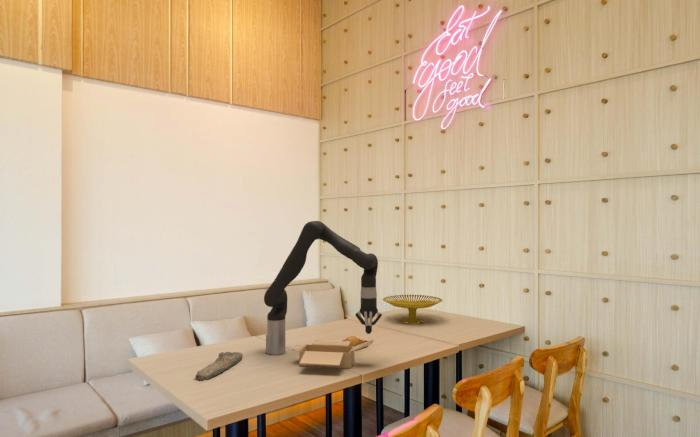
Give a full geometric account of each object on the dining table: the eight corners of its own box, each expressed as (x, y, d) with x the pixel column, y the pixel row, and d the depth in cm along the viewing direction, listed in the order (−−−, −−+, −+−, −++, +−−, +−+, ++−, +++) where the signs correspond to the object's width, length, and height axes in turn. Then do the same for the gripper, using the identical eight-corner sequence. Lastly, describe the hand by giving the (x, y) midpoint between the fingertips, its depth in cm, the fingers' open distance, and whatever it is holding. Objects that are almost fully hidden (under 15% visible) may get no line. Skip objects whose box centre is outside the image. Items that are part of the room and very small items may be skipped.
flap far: (351, 350, 209) (371, 343, 208) (354, 346, 216) (373, 339, 215) (352, 351, 209) (371, 344, 208) (354, 347, 216) (373, 340, 215)
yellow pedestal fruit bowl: (371, 323, 302) (371, 300, 302) (400, 313, 334) (400, 292, 334) (426, 331, 278) (426, 306, 278) (452, 319, 311) (452, 297, 311)
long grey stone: (189, 383, 193) (210, 386, 191) (189, 371, 193) (210, 374, 191) (229, 355, 227) (247, 358, 225) (229, 345, 227) (247, 347, 225)
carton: (290, 365, 211) (290, 350, 212) (302, 353, 231) (302, 339, 231) (350, 368, 207) (350, 352, 207) (356, 355, 227) (356, 341, 227)
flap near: (305, 350, 210) (299, 362, 200) (343, 352, 207) (339, 364, 197) (305, 351, 210) (299, 363, 200) (343, 353, 207) (339, 365, 197)
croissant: (334, 359, 233) (337, 347, 229) (327, 346, 240) (329, 334, 237) (370, 353, 242) (373, 341, 239) (361, 340, 250) (364, 329, 247)
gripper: (353, 297, 209) (353, 334, 209) (381, 298, 207) (382, 336, 207) (355, 294, 217) (356, 331, 216) (383, 295, 214) (383, 332, 214)
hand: (368, 333), depth 212 cm, fingers closed
